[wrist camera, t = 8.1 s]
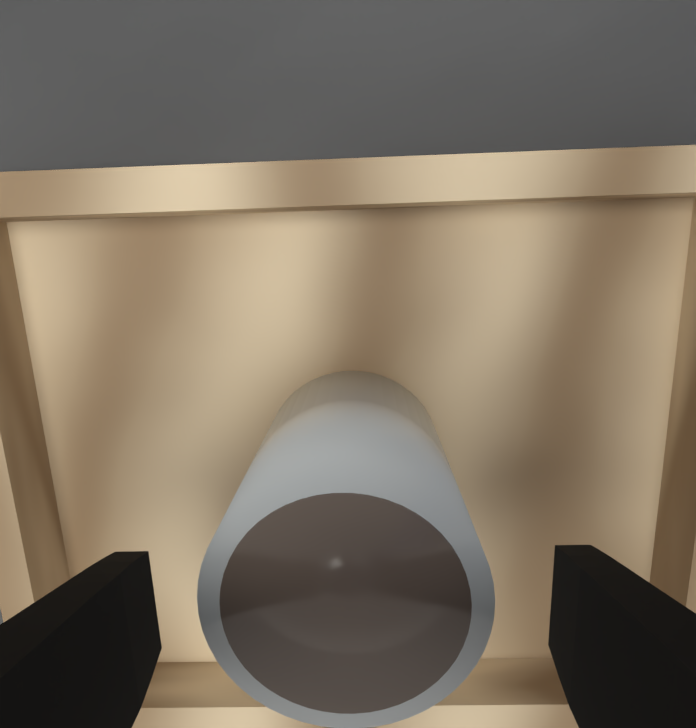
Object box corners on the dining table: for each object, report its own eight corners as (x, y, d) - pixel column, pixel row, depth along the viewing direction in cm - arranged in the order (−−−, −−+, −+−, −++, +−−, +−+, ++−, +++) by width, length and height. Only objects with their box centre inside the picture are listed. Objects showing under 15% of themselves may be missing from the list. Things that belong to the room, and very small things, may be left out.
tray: (717, 159, 14) (795, 140, 11) (655, 663, 17) (703, 731, 15) (-16, 187, 14) (-94, 175, 12) (73, 669, 18) (28, 736, 15)
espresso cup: (435, 364, 14) (494, 461, 8) (443, 567, 16) (499, 790, 9) (257, 377, 14) (174, 481, 8) (282, 575, 16) (227, 798, 9)
